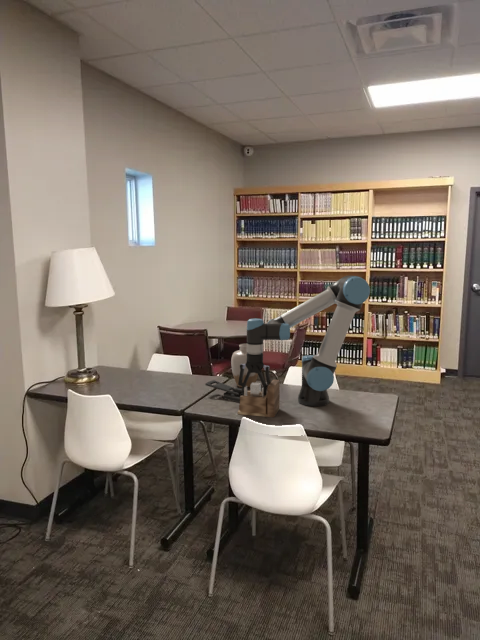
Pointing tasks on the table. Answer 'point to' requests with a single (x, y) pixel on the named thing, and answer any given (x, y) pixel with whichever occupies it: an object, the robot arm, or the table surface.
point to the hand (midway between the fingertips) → (254, 401)
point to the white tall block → (255, 389)
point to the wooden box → (261, 402)
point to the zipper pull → (227, 391)
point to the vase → (237, 360)
